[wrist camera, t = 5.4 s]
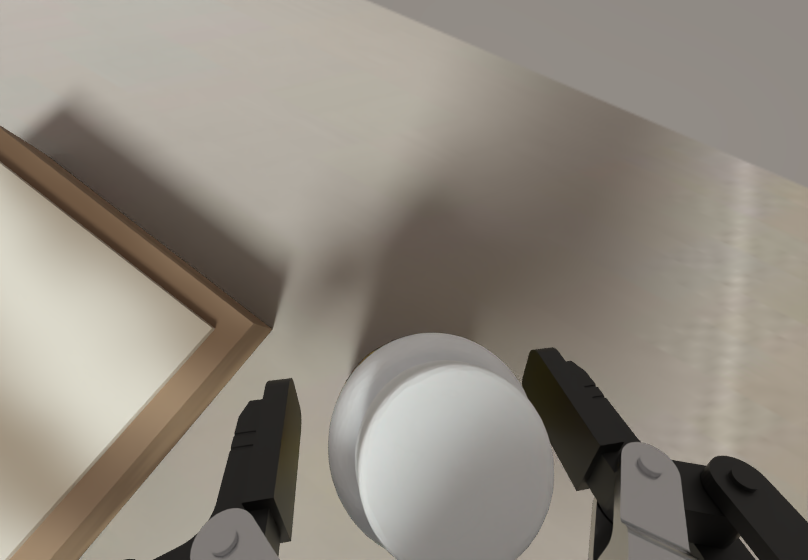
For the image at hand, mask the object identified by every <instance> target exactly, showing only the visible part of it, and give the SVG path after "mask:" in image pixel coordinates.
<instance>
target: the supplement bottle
mask: <svg viewBox="0 0 808 560" xmlns="http://www.w3.org/2000/svg"><path fill="white" fill-rule="evenodd" d="M328 454H329V465H330V471H331V475H332V479H333V483H334V486H335V488H336V491H337V494H338V496H339V498H340V500H341V502H342V504H343V506H344V508H345V510H346V511H347V513H348V514H349V516H350V517H351V519H352V520H353V521H354V523H355V524H356V525H357V526H358V527H359V528H360V529H361V530H362V531H363V532H364V533H365V535H367V536H368V537H369V538H370V539H372V540H373V541H374V542H375V543H377V544H378V545H380V546H381V547H383V548H385V549H387V551H388V552H389V553H390V554H391V555H392V556H393V557H395V558H396V559H397V560H516V559H517V558H518V557H519V556H520V555H521V554H522V553H523V552H524V551H525V550H526V549H527V548H528V547H529V545H530V544H531V542H532V541H533V540H534V538H535V537H536V535H537V534H538V532H539V530H540V528H541V526H542V524H543V522H544V519H545V517H546V515H547V512H548V510H549V506H550V501H551V497H552V493H553V484H554V461H553V454H552V449H551V445H550V441H549V437H548V434H547V431H546V429H545V426H544V424H543V422H542V419H541V418H540V416H539V414H538V413H537V411H536V410H535V408H534V406H533V405H532V403H531V402H530V401H529V400H528V398H527V395H526V393H525V391H524V389H523V387H522V386H521V384H520V382H519V381H518V379H517V378H516V377H515V375H514V374H513V373H512V371H511V370H510V369H509V368H508V367H507V366H506V364H504V363H503V362H502V361H501V360H500V359H499V358H498V357H497V356H496V355H495V354H493V353H492V352H490V351H489V350H488V349H486V348H484V347H483V346H481V345H479V344H477V343H475V342H473V341H471V340H469V339H466V338H463V337H460V336H456V335H451V334H445V333H419V334H412V335H408V336H404V337H401V338H399V339H395V340H392V341H391V342H389V343H387V344H385V345H383V346H381V347H380V348H378V349H376V350H374V351H373V352H371V353H370V354H369V355H367V356H366V357H365V358H364V359H363V360H362V361H361V362H360V363H359V365H358V366H357V367H356V368H355V369H354V370H353V372H352V373H351V375H350V376H349V378H348V379H347V380H346V382H345V385H344V386H343V388H342V390H341V392H340V394H339V397H338V399H337V402H336V405H335V408H334V411H333V414H332V418H331V423H330V429H329V440H328Z"/></svg>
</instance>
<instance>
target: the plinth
mask: <svg viewBox="0 0 808 560" xmlns="http://www.w3.org/2000/svg"><path fill="white" fill-rule="evenodd" d="M271 330H272V329H271V328H270V327H269V326H268V325H266V324H265V323H264V322H262V321H261V320H260V319H258V318H257V317H256V316H255V315H253V314H252V313H251V312H249V311H248V310H247V309H245V308H244V307H243V306H242V305H240V304H239V303H238V302H236V301H235V300H234V299H232V298H231V297H230V296H229V295H227V294H226V293H225V292H223V291H222V290H221V289H220V288H218V287H217V286H216V285H214V284H213V283H212V282H210V281H209V280H208V279H207V278H205V277H204V276H203V275H201V274H200V273H199V272H197V271H196V270H195V269H194V268H192V267H191V266H190V265H188V264H187V263H186V262H185V261H183V260H182V259H181V258H179V257H178V256H177V255H175V254H174V253H173V252H172V251H170V250H169V249H168V248H166V247H165V246H164V245H162V244H161V243H160V242H159V241H157V240H156V239H155V238H153V237H152V236H151V235H149V234H148V233H147V232H146V231H144V230H143V229H142V228H140V227H139V226H138V225H137V224H135V223H134V222H133V221H131V220H130V219H129V218H127V217H126V216H125V215H124V214H122V213H121V212H120V211H118V210H117V209H116V208H114V207H113V206H112V205H111V204H109V203H108V202H107V201H105V200H104V199H103V198H102V197H100V196H99V195H98V194H96V193H95V192H94V191H92V190H91V189H90V188H89V187H87V186H86V185H85V184H83V183H82V182H81V181H79V180H78V179H77V178H76V177H74V176H73V175H72V174H70V173H69V172H68V171H67V170H65V169H64V168H63V167H61V166H60V165H59V164H57V163H56V162H55V161H54V160H52V159H51V158H50V157H48V156H47V155H46V154H44V153H42V152H41V151H39V150H38V149H36V148H35V147H33V146H31V145H30V144H28V143H27V142H25V141H24V140H22V139H20V138H19V137H17V136H16V135H14V134H13V133H11V132H9V131H8V130H6V129H5V128H3V127H2V126H0V560H78V559H79V558H80V557H81V556H82V555H83V553H84V552H85V551H86V550H87V549H88V547H89V546H90V545H91V544H92V543H93V542H94V540H95V539H96V538H97V537H98V536H99V534H100V533H101V532H102V531H103V530H104V529H105V527H106V526H107V525H108V524H109V523H110V521H111V520H112V519H113V518H114V517H115V515H116V514H117V513H118V512H119V511H120V510H121V508H122V507H123V506H124V505H125V504H126V502H127V501H128V500H129V499H130V498H131V497H132V495H133V494H134V493H135V492H136V491H137V489H138V488H139V487H140V486H141V485H142V483H143V482H144V481H145V480H146V479H147V478H148V476H149V475H150V474H151V473H152V472H153V470H154V469H155V468H156V467H157V466H158V464H159V463H160V462H161V461H162V460H163V459H164V457H165V456H166V455H167V454H168V453H169V451H170V450H171V449H172V448H173V447H174V446H175V444H176V443H177V442H178V441H179V440H180V438H181V437H182V436H183V435H184V434H185V432H186V431H187V430H188V429H189V428H190V427H191V425H192V424H193V423H194V422H195V421H196V419H197V418H198V417H199V416H200V415H201V413H202V412H203V411H204V410H205V409H206V408H207V406H208V405H209V404H210V403H211V402H212V400H213V399H214V398H215V397H216V396H217V395H218V393H219V392H220V391H221V390H222V389H223V387H224V386H225V385H226V384H227V383H228V381H229V380H230V379H231V378H232V377H233V376H234V374H235V373H236V372H237V371H238V370H239V368H240V367H241V366H242V365H243V364H244V363H245V361H246V360H247V359H248V358H249V357H250V355H251V354H252V353H253V352H254V351H255V349H256V348H257V347H258V346H259V345H260V344H261V342H262V341H263V340H264V339H265V338H266V336H267V335H268V334H269V333H270V332H271Z"/></svg>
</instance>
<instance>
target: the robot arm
mask: <svg viewBox="0 0 808 560" xmlns="http://www.w3.org/2000/svg"><path fill="white" fill-rule="evenodd" d="M522 387H523V389H524V391H525V393H526V395H527V398H528V400H529V401H530V402H531V403H532V405H533V406H534V408H535V410H536V411H537V413H538V414H539V416H540V418H541V419H542V422H543V424H544V426H545V429H546V431H547V434H548V437H549V441H550V443H551V445H552V447H553V449H554V450H555V452H556V454H557V456H558V458H559V460H560V461H561V463H562V465H563V467H564V469H565V471H566V472H567V474H568V476H569V478H570V480H571V482H572V483H573V485H574V487H575V489H576V491H579V490H584V489H590V490H591V491H592V493H593V495H594V496H595V497H594V499H593V503H592V515H591V528H590V540H589V552H588V560H755V558H754V557H753V556H752V554H751V553H750V552H749V551H748V549H747V548H746V547H745V545H744V544H743V543H742V542H741V540H740V539H739V537H740V536H741V537H742V538H743V539H744V541H745V542H746V543H747V544H748V546H749V547H750V548H751V550H752V551H753V552H754V553H755V555H756V556H757V557H758V559H759V560H808V522H807V521H806V520H805V519H804V518H803V517H802V516H801V515H800V514H799V513H798V512H797V511H796V509H795V508H794V507H793V506H792V505H791V504H790V503H789V502H788V501H787V500H786V499H785V498H784V497H783V496H782V495H781V494H780V492H779V491H778V490H777V489H776V488H775V487H774V486H773V485H772V484H771V483H770V482H769V481H768V480H767V479H766V478H765V477H764V476H763V475H762V474H761V473H760V472H759V471H757V470H756V469H755V468H753V467H752V466H750V465H749V464H747V463H745V462H743V461H741V460H739V459H736V458H733V457H729V456H717V457H714V458H713V459H712V460H711V461H710V462H709V463H708V465H707V466H704V465H698V464H692V463H686V462H680V461H675V460H671V459H670V458H669V457H668V456H667V455H666V454H664V453H663V452H662V451H660V450H659V449H657V448H655V447H653V446H651V445H649V444H646V443H641V442H640V441H639V439H638V438H637V437H636V436H635V435H634V433H633V432H632V431H631V429H630V428H629V427H628V426H627V424H626V423H625V422H624V420H623V419H622V418H621V417H620V415H619V414H618V413H617V411H616V410H615V409H614V408H613V406H612V405H611V404H610V402H609V401H608V400H607V399H606V398H604V395H603V393H602V392H601V391H600V389H599V388H598V387H596V384H595V383H594V382H593V380H592V379H591V378H590V377H589V375H588V374H587V373H586V371H584V370H583V369H582V368H580V367H579V366H577V365H576V364H575V363H573V362H572V361H565V360H564V358H563V357H562V356H561V354H560V353H559V352H558V350H557V349H555V348H553V347H552V348H544V349H535V350H531V351H530V353H529V356H528V360H527V364H526V368H525V371H524V375H523V379H522ZM300 435H301V410H300V405H299V401H298V397H297V393H296V389H295V385H294V382H293V379H292V378H289V379H281V380H272V381H267V383H266V386H265V390H264V395H263V399H261V400H253V401H250V402H249V403H248V404H247V406H246V407H245V409H244V410H243V411H242V413H241V414H240V416H239V418H238V422H237V426H236V430H235V436H234V437H233V441H232V445H231V451H230V453H229V456H228V460H227V464H226V468H225V472H224V476H223V479H222V483H221V487H220V491H219V495H218V498H217V502H216V506H215V509H214V511H213V513H212V515H211V517H210V519H209V520H208V521H207V522H206V523H205V525H204V526H203V527H202V528H201V529H200V531H199V532H198V533H197V534H196V535H195V536H194V537H193V538H192V539H190V540H189V541H188V542H186V543H184V544H183V545H181V546H179V547H177V548H175V549H173V550H171V551H169V552H167V553H165V554H163V555H162V556H160V557H158V558H156V559H154V560H280V559H279V558H278V555H279V546H280V543H283V542H289V541H291V536H292V524H293V513H294V502H295V491H296V480H297V469H298V458H299V446H300ZM126 560H135V559H126Z"/></svg>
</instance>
